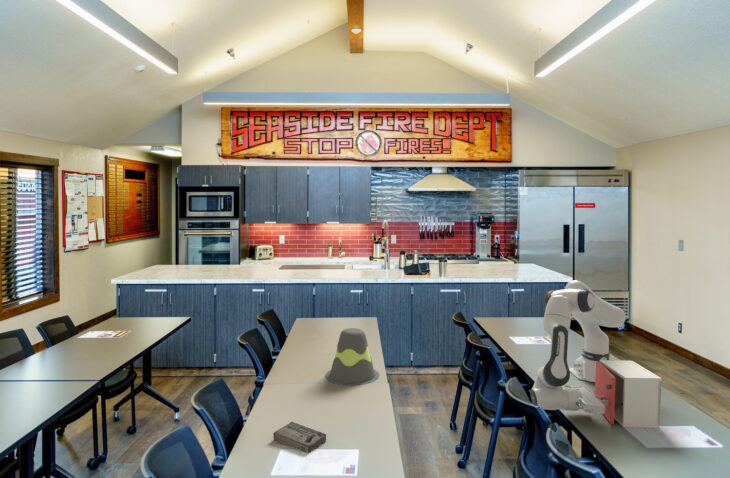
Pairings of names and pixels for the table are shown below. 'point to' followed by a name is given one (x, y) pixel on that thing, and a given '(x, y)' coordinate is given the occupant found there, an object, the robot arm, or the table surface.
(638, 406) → the cabinet
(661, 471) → the table surface
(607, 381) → the door
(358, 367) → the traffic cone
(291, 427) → the box
